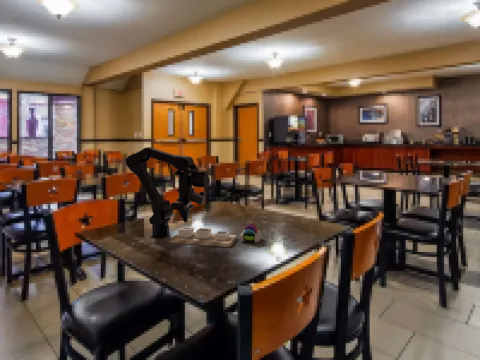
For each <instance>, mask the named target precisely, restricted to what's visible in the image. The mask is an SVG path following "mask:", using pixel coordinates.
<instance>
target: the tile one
mask: <svg viewBox="0 0 480 360" xmlns="http://www.w3.org/2000/svg"><path fill="white" fill-rule="evenodd" d="M194 230H195V229H194V227H193V226H192V227H191V226H181V227H180V228H179V229H178V230H177V231H178V233H177V234H178V235H179V237H181V238H191V236H192V235H193V234H194V232H195V231H194Z"/></svg>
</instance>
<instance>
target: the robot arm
mask: <svg viewBox="0 0 480 360" xmlns="http://www.w3.org/2000/svg"><path fill="white" fill-rule="evenodd" d="M151 159H155V160H157V161H159V162H163V163H165V164H166V163H167V164H169V165H171V167H173V168H174V169H176V171H175V172H174V173H173V175H174V176H176V177H178V178H177V180H178V182H177V183H178V188H177V189H176V192H178V198H176V200H175V201H173V202H170V200H169V199H167V200H165V199H164V198H163V197H162V195H161V193H160V192H159V189H158V188H157V186H156V184H155V182H154V181H153V179H152V177H151V175H150V173H149V171H148V163H147V162H148V161H150V160H151ZM125 165H126V167H127V168H128V169H129V170H130V172H132V173H133V174H134V175H135V176H136V177H137V178H138V181H139V182H140V184H141V185H142V188H143V189H144V192H145V193H146V195H147V197H148V199H149V201H150V203H151V212H152V213H153V214H152V215H151V216H150V217H149V219H148V222H149V223H150V224H149V225H151V228H152V234H151V235H150V238H159V239H165V238H166V237H168V236H170V235H171V233H170V225H169V222H170V220H171V217H173V214H174V211H178V213H179V214H180V217H181V219H182V221H183V223H188V221H189V216H190V213H191V210H192V209H193V208H194V207H195V204H197V205H199V206H202V205H203V204H204V203H205V200H206V199H207V196H206V192H205V191H203V190H201V191H200V192H196V191H195V188H203V189H208V187H209V186H210V181H211V179H210V176H209V174H208V171H207V170H204V171H200V170H199V169H198V167H197V166H196V163H195V161H194V158H193V157H192V156H189V155H177V154H174V153H169V152H167V151H163V150H160V149H156V148H154V147H153V146H151V147H150V146H148V147H144V148H143V149H141V150H139V151H137V152H134V153H133V154H130V155H128V156H127V157H126V158H125ZM194 187H195V188H194ZM192 203H195V204H192Z"/></svg>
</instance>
